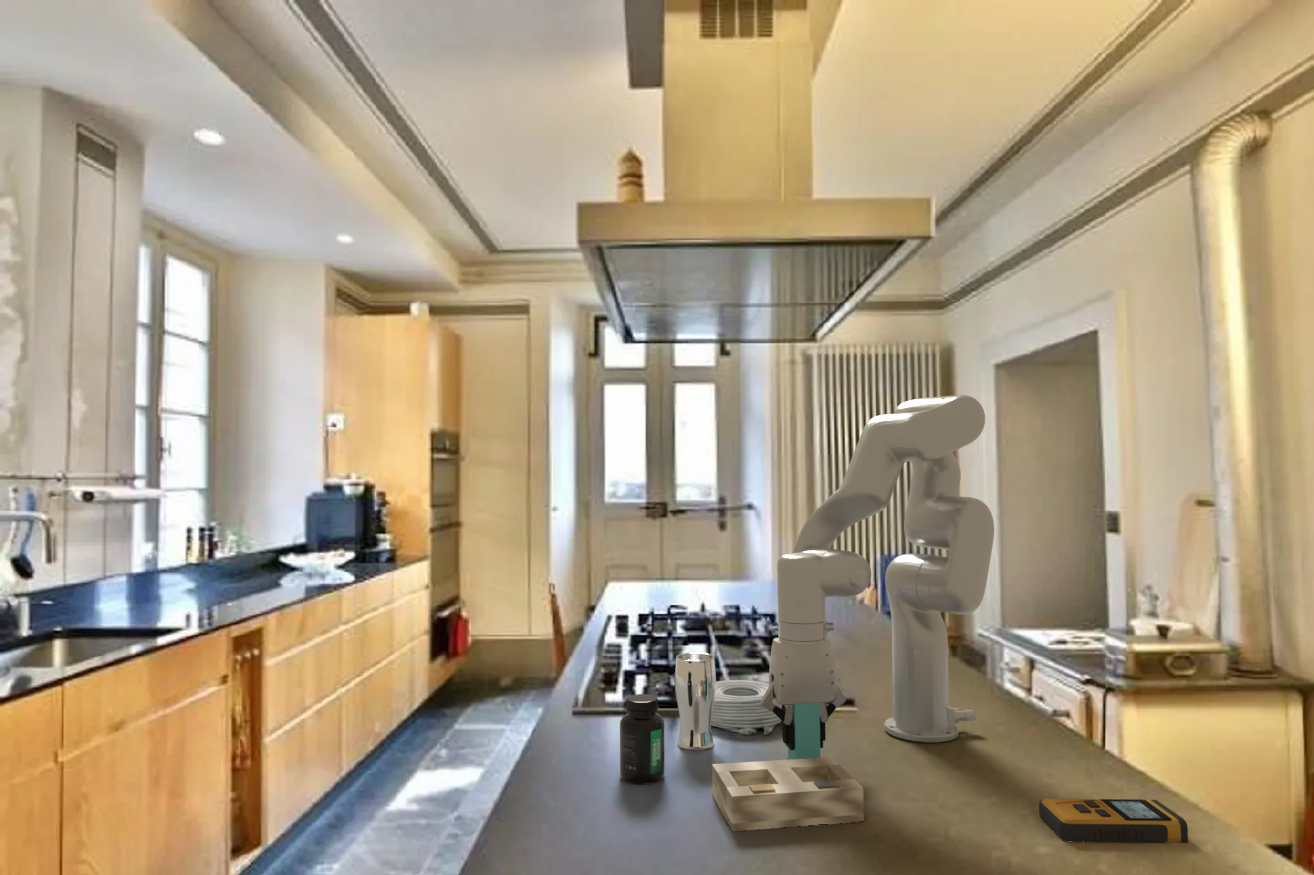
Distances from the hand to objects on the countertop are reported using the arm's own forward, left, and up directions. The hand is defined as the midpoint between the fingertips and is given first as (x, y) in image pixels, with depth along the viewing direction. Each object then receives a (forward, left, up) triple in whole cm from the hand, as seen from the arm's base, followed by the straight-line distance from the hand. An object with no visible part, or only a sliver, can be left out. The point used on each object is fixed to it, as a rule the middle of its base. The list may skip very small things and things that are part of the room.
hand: (804, 745), depth 133 cm
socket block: (+8, +16, -3) cm, 18 cm away
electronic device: (-32, +30, -4) cm, 43 cm away
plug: (0, 0, -3) cm, 3 cm away
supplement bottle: (+26, +1, -3) cm, 26 cm away
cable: (+4, -25, -3) cm, 26 cm away
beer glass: (+15, -12, -3) cm, 20 cm away
